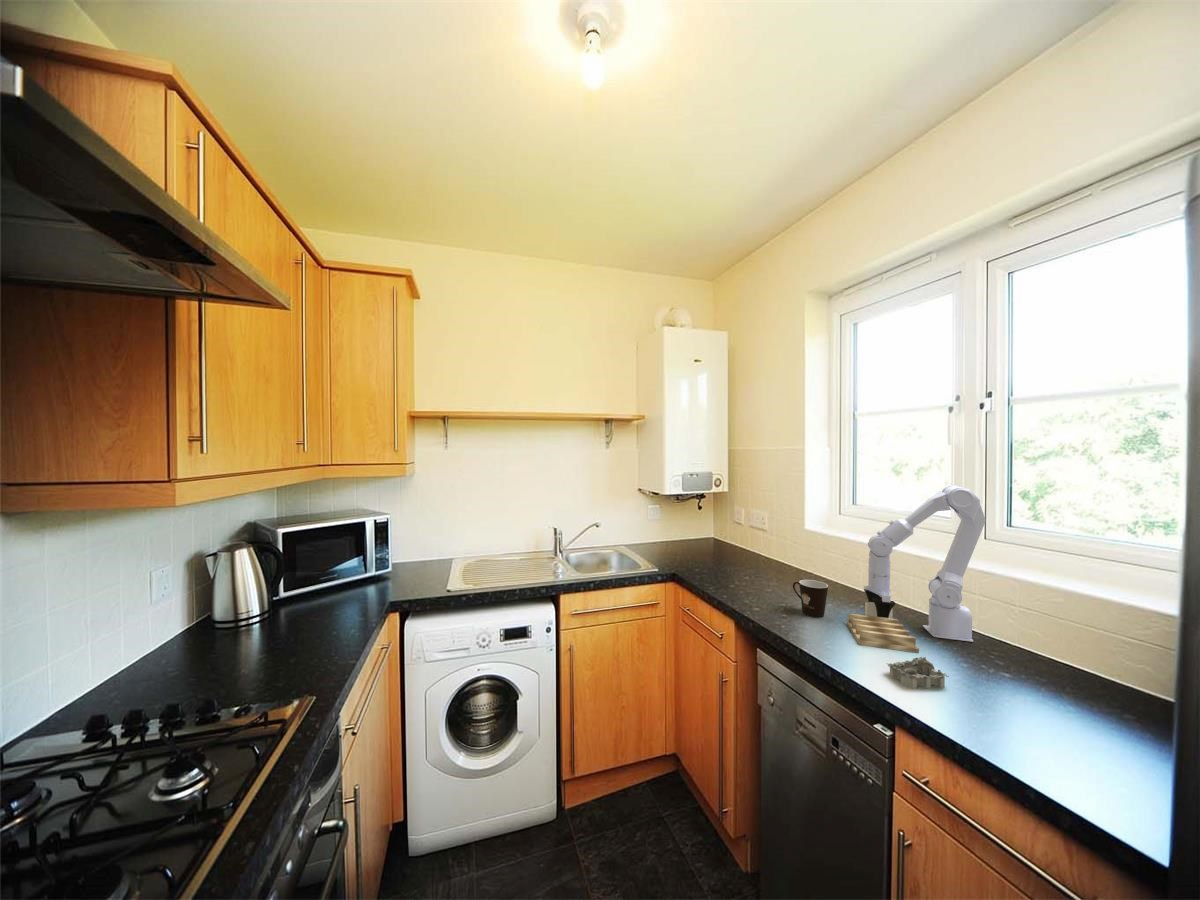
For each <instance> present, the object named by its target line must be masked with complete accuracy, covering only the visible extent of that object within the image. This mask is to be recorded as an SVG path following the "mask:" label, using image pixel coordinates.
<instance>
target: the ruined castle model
mask: <svg viewBox="0 0 1200 900" xmlns="http://www.w3.org/2000/svg"><path fill="white" fill-rule="evenodd" d="M885 664H886V665H887V666H888V667H889V676H890V677H891V678H892V679H898V680H900V685H902V686H904V687H909V688H911V689H917V687H918V686H920V687H923V688H926V689H931V687H932V686H934V687H935V686H936V687H938V688H942V689H943V688H945V686H946V685H945V684H946V677H947V678H949V675H948V674H947V673H946V672H944V673H943V672H942V671H941V670H940V669H937V670H935V669H936V668H935V666H934V664H933V663H932V662H930V661H929V660H927V657H925V656H923V657H922V656H919V657H915V658H912V660H905V661H902V662H901V661H897V662H893V663H887V662H886V663H885ZM919 673H921V674H919Z"/></svg>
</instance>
